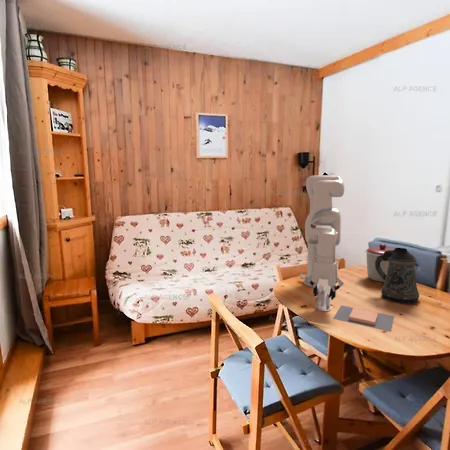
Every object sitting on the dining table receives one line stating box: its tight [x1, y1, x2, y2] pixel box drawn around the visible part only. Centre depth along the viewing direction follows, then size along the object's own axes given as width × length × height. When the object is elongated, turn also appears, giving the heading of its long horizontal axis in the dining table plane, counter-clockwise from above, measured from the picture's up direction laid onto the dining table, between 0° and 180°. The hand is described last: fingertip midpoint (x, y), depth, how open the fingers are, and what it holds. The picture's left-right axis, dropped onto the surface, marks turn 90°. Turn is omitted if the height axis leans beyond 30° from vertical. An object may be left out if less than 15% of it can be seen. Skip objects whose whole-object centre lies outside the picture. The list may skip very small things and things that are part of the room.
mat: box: [332, 305, 395, 333], centre depth 137 cm, size 22×16×1 cm
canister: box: [364, 243, 395, 283], centre depth 185 cm, size 18×18×21 cm
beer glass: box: [316, 278, 332, 312], centre depth 145 cm, size 7×7×15 cm
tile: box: [349, 307, 379, 325], centre depth 136 cm, size 10×2×10 cm
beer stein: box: [375, 247, 420, 306], centre depth 157 cm, size 16×19×25 cm
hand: (324, 296), depth 145 cm, fingers open, 6 cm apart
